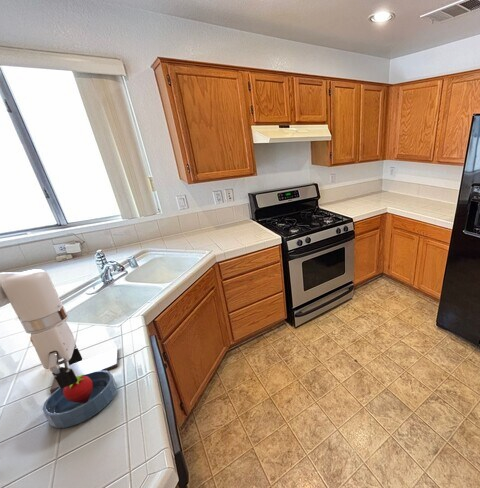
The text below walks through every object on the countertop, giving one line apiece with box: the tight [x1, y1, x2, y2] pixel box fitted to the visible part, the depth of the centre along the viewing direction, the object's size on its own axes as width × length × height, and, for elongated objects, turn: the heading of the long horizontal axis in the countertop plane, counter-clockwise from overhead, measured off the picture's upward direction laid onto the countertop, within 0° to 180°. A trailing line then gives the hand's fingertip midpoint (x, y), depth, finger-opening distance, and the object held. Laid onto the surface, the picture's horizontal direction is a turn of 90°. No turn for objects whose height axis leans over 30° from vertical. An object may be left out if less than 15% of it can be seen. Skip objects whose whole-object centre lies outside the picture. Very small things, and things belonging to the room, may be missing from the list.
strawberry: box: [63, 374, 93, 403], centre depth 72 cm, size 6×8×10 cm
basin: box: [42, 370, 118, 429], centre depth 73 cm, size 14×14×5 cm
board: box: [49, 347, 119, 394], centre depth 86 cm, size 16×10×1 cm, turn 127°
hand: (72, 372), depth 70 cm, fingers open, 9 cm apart
